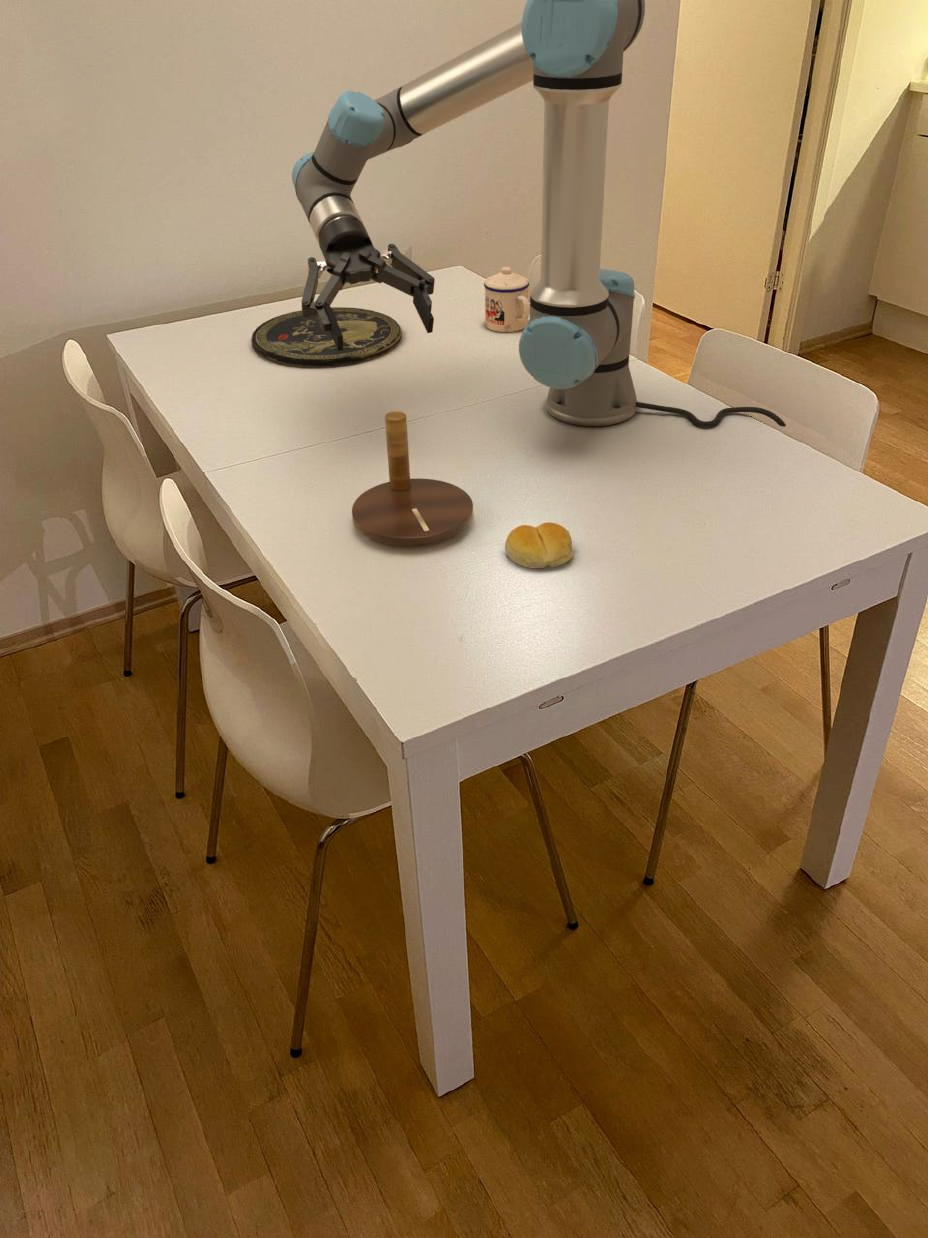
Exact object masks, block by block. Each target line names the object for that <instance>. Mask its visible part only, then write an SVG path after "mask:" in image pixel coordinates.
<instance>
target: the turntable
mask: <svg viewBox="0 0 928 1238" xmlns="http://www.w3.org/2000/svg"><path fill="white" fill-rule="evenodd" d="M407 419H408V418H407V414H406V413H405V412H404V411H399V410H398V411H397V410H396V411H395V410H393V411H390V412H387V413H385V415H384V426H385V438H386V451H387V464H388V465H387V466H388V475H389V476H388V479H389V481H387V482H384V483H381V484H377V485H374V486H372V487H370V488H369V489H367V490H365V491H364V492H362V493H361V494H360V495H359V496H358V497H357V498H356V499H355V501H354V502H353V505H352V507H351V516H352V522H353V525H354V527H355V528H356V530H358V531H359V532H360V534H362V535H363V536H365V537H367V538H368V539H371V540H374V541H377V542H380V543H384V544H388V545H395V546H401V545H418V546H424V545H423V544H426V545H430V544H434V543H439V542H441V541H444V540H447V539H449V538H452V537H455V536H456V535H458V534H459V533H461V532H462V531H463V530H465V529H466V528H467V527H468V526H469V525H470V523H471V521H472V520H473V516H474V503H473V499H472V498H471V496H470V495H469V493H468V492H467V491H465V490H464V489H462V488H461V487H459V486H457V485H456V484H453V483H449V482H447V481H443V480H439V479H433V478H432V479H431V478H422V477H421V478H419V477H418V478H417V477H416V478H414V477H413V478H411V470H410V469H411V467H410V456H409V455H410V454H409V436H408V420H407ZM429 543H430V544H429Z"/></svg>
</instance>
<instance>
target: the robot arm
mask: <svg viewBox="0 0 928 1238" xmlns="http://www.w3.org/2000/svg"><path fill="white" fill-rule="evenodd" d="M645 15H646V0H526V3H525V5H524V9H523V12H522V18H521V21H520V22H518V23H516V24H515V25H513V26H511V27H509V28H507V29H505V30H504V31H501V32H500V33H498V34H496V35H494V36H493V37H490V38H489V39H486V40H485V41H483V42H481V43H479V44H478V45H476V46H474V47H472V48H470V49H468V50H466V51H465V52H463V53H461V54H459V55H458V56H456V57H454V58H452V59H450V60H448V61H446V62H444V63H442V64H440V65H439V66H437V67H435V68H432V69H431V70H430V71H428V72H426V73H424V74H422V75H420V76H418V77H416V78H415V79H413V80H411V81H408V82H407V83H405V84H404V85H403V84H402V86H399V87H397V88H395V89H394V90H392V91H389V92H387V93H386V94H385V95H382V96H380V97H378V98H375V99H373V98H372V97H370V96H369V95H367V94H365V93H362V92H360V91H354V90H351V89H350V90H345V91H343V92H341V94H340V95H339V96H338V97H337V99H336V101H335V103H334V106H333V107H332V108H331V109H330V111H329V114H328V117H327V121H326V123H325V126H324V127H323V130H322V133H321V134H320V137H319V140H318V142H317V144H316V147H315V150H314V151H313V152H308V153H306V154H304V155H303V156H302V157H301V158H300V159H299V160H297V161H296V162H295V164H294V165H293V168H292V171H291V180H292V185H293V188H294V191H295V196H296V198H297V201H298V202H299V204H300V205H301V207H302V210H303V212H304V214H305V216H306V218H307V221H308V223H309V226H310V227H311V230H312V232H313V235H314V237H315V239H316V242H317V244H318V246H319V249H320V251H321V253H322V256H323V259H324V260H320V261H317V259H316V258H315V257H313V256H311V257H309V258H307V273H308V275H307V278H306V281H305V286H304V290H303V294H302V298H301V310H302V316H303V317H309V316H310V315H313V316H315V320H316V321H317V322H319V324H320V326H321V328H322V330H323V331H324V332H327V331H330V333H331V336H332V338H333V340H334V343H335V345H336V348H337V350H338V351H340V350H343V335H342V332H341V330H340V328H339V325H338V323H337V321H336V318H335V316H334V314H333V311H332V309H331V307H332V305H331V304H333V302H334V300H335V299H336V297H337V295H338V294H339V292H340V291H342V290H343V288H344V287H345V285H346V283H348V284H349V285H353V284H358V283H366V282H371V280H372V281H374V282H375V283H378V284H382V283H383V284H386V285H388V286H390V287H392V288H393V289H396V290H398V291H400V292H401V293H404V294H406V295H408V296H410V297H412V303H413V306H414V308H415V310H416V313H417V314H418V316H419V319H420V320H421V323H422V325H423V327H424V329H425V331H426V333H427V334H431V333H434V332H433V331H434V324H435V323H434V321H435V317H434V316H433V313H432V306H433V301H432V299H431V296H432V295H434V292H435V281H436V280H435V277H434V276H433V275H431V274H430V273H428V272H427V271H426V270H424V269H423V268H422V267H421V266H419V265H418V264H417V263H416V262H413V261H412V260H411V259H409V258H408V257H407V256H406V255H404V254H403V253H401V251H400V250H399V248H398V247H397V245H396V244H395V243H389V244H388V245H387V249H383V250H378V249H377V248H375V247H374V244H373V242H372V239H371V237H370V235H369V233H368V231H367V229H366V226H365V224H364V222H363V219H362V217H361V216H360V214H359V212H358V210H357V207H356V205H355V203H354V201H353V199H352V196H351V195H352V192H353V189H354V188H355V186H356V183H357V182H358V180H359V178H360V176H361V174H362V171H363V169H364V168H365V166H366V163H367V162H368V161H369V160H372V159H374V158H376V157H378V156H380V155H383V154H385V153H386V152H390V151H392V150H395V149H398V148H402V147H404V146H406V145H408V144H410V143H412V142H413V141H414V140H416V139H418V138H420V137H422V136H423V135H426V134H428V133H429V132H432V131H434V130H435V129H437V128H439V127H442V126H443V125H446V124H447V123H450V122H452V121H454V120H455V119H458V118H460V117H462V116H464V115H466V114H468V113H470V112H473V111H474V110H476V109H479V108H480V107H482V106H484V105H486V104H488V103H491V102H493V101H495V100H497V99H498V98H501V97H503V96H505V95H508V94H509V93H511V92H513V91H515V90H517V89H519V88H521V87H523V86H525V85H527V84H529V83H531V82H532V87H533V89H534V90H535V91H536V92H537V93H538V94H539V96H540V97H541V98H542V99H543V103H544V104H543V105H544V106H543V108H544V109H543V145H542V146H543V147H542V148H543V150H542V196H541V198H542V199H541V240H540V241H541V243H540V244H541V245H540V246H541V247H540V249H541V250H540V279H539V281H538V282H537V283H536V284H535V285H534V286H533V287H532V288H531V289H530V293H529V304H530V314H529V323H527V326H526V327H525V328H524V329H522V333H521V335H520V338H519V341H518V342H519V343H518V353H519V358H520V362H521V363H522V366H523V367H524V369H525V370H526V372H527V373H528V374H529V375H531V377H533V379H534V380H535V381H536V382H538V383H539V384H541V385H543V386H545V387H547V388H549V390H548V393H547V396H546V411H547V412H548V413H549V414H550V416H552V417H553V418H555V419H557V420H558V421H561V422H564V423H567V424H571V425H575V426H583V427H605V426H611V425H616V424H620V423H623V422H625V421H627V420H629V419H630V418H632V417H633V416H634V415H635V414H636V412H637V408H639V409H645V410H651V411H657V412H663V413H670V414H677V415H681V416H684V417H686V418H687V419H689V420H690V421H692V423H693V424H694V425H695V426H698V427H703V428H708V427H714V426H717V424H718V423H720V421H721V419H722V417H724V415H727V414H736V413H737V414H738V413H755V414H760V415H762V416H766V417H768V418H770V419H771V420H772V421H774V422H775V423H776V424H777V425H778V426H779V427H783V428H784V427H787V425H786V423H785V422H784V420H783V419H782V418H781V417H780V416H778V415H777V414H776V413H774V412H772V411H770V410H769V409H766V408H762V407H757V406H736V407H726V408H722V409H721V410H719V412H717V414H716V416H715V417H714V418H713V419H712V420H709V421H708V420H707V421H706V420H705V421H704V420H700V419H699V418H697V416H695V414H694V413H692V412H691V411H689V410H686V409H683V408H679V407H672V406H665V405H658V404H654V403H646V402H640V401H637V394H636V389H635V386H634V381H633V377H632V373H631V370H630V353H631V339H632V330H633V329H632V327H633V318H634V317H633V316H634V304H635V303H634V302H635V299H636V294H635V281H634V278H633V277H632V276H631V275H630V274H629V273H626V272H623V271H619V270H615V269H606V268H601V252H602V237H603V219H604V217H603V216H604V200H605V199H604V198H605V182H606V180H605V179H606V165H607V164H606V161H607V145H608V144H607V143H608V142H607V141H608V128H609V127H608V125H609V108H610V107H609V106H610V100H611V98H612V97H613V95H614V94H615V93H616V92H617V91H618V90H619V89H620V88H621V87H622V82H623V66H624V52H626V51H627V50H628V49H629V48H630V47H631V46H632V45H633V43H634V42H635V40H636V39H637V37H638V36H639V33H640V32H641V30H642V27H643V24H644V19H645ZM324 272H327V273H328V274H330V275H331V276H330V277H329V278H328V280H327V282H326V284H325V285H324V287H323V288H322V290H321V292H320V293H319V295H318V296H317V298H316V294H317V289H318V285H319V279H321V278H322V276H323V275H324ZM430 295H431V296H430ZM315 299H316V300H315Z"/></svg>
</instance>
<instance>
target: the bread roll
mask: <svg viewBox="0 0 928 1238" xmlns="http://www.w3.org/2000/svg"><path fill="white" fill-rule="evenodd" d="M504 550H505V553H506V555H507V556H508V557H509V559H510V560H511V561H512V562H514V563H516V564H519V565H521V566H522V567H526V568H530V569H542V568H543V569H544V568H546V567H548V566H549V567H558V566H562V565H564V564H566V563H567V562H569V561H570V560H571V559H572V558H573V556H574V554H575V553H574V550H573V539H572V536H571V534H570V531H569V530H567V529H566V527H564V526H563V525H560V524H558V523H555V522H550V521H547V522H544V523H540V524H539V525H537V526H532V525H529V524H522V525H519V526H516V527H515V528H513V529H512V530H511V531H510V532H509V533H508V535H507V537H506V540H505V543H504Z"/></svg>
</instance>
